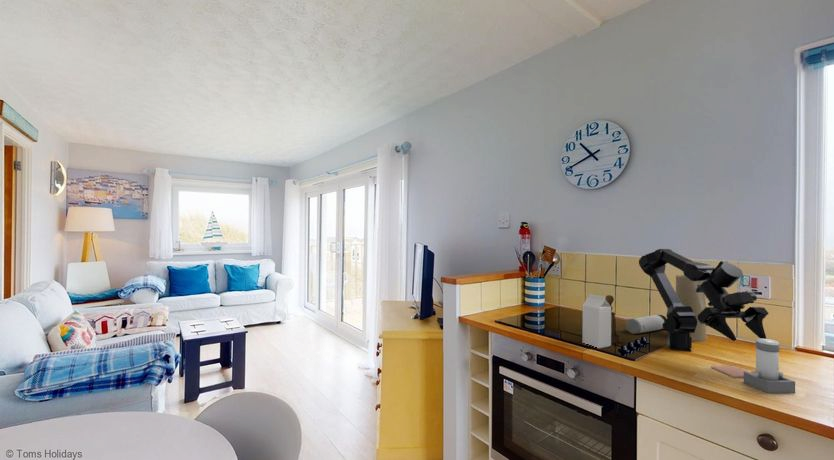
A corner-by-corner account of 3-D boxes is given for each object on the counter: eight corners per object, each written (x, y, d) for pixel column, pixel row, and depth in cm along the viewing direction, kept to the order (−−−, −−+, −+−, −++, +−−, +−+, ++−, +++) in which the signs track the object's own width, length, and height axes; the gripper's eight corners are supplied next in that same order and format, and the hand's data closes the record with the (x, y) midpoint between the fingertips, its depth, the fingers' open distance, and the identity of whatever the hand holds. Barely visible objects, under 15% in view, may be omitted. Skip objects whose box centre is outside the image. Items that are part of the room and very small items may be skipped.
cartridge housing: (742, 382, 106) (742, 367, 106) (770, 381, 106) (770, 367, 106) (766, 393, 99) (766, 377, 99) (796, 392, 99) (796, 377, 99)
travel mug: (642, 330, 150) (673, 325, 158) (633, 316, 154) (663, 311, 162) (631, 337, 155) (661, 331, 163) (622, 322, 158) (652, 318, 167)
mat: (711, 367, 117) (711, 366, 117) (735, 367, 117) (735, 365, 117) (734, 378, 109) (734, 376, 109) (759, 377, 109) (759, 376, 109)
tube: (671, 337, 150) (672, 276, 149) (680, 333, 156) (680, 274, 156) (701, 343, 142) (702, 279, 142) (709, 338, 148) (709, 277, 148)
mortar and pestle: (600, 341, 143) (600, 296, 143) (599, 337, 149) (599, 293, 149) (619, 344, 141) (620, 297, 141) (617, 339, 147) (617, 294, 147)
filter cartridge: (750, 383, 105) (751, 338, 105) (766, 382, 105) (767, 338, 105) (767, 390, 100) (767, 343, 100) (784, 390, 101) (784, 343, 101)
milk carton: (598, 349, 135) (599, 297, 135) (582, 343, 141) (582, 294, 141) (611, 346, 138) (611, 296, 138) (594, 341, 144) (594, 293, 144)
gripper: (704, 281, 113) (737, 326, 102) (762, 281, 114) (801, 325, 103) (685, 301, 121) (713, 345, 110) (739, 301, 122) (772, 344, 111)
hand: (750, 340), depth 108 cm, fingers open, 9 cm apart
